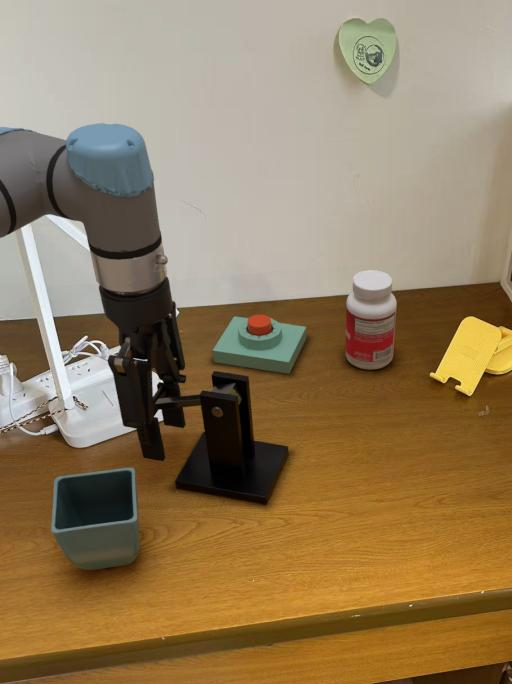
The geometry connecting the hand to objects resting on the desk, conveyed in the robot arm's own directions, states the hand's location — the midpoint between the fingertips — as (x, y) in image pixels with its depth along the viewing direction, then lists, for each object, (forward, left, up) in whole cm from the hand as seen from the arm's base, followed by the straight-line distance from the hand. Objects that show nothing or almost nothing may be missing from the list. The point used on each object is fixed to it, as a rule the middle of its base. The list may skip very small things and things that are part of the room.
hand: (164, 440), depth 100 cm
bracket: (+9, +3, -3) cm, 10 cm away
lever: (+5, +2, +6) cm, 8 cm away
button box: (-5, +27, -3) cm, 28 cm away
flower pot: (+6, -16, -3) cm, 17 cm away
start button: (-5, +27, 0) cm, 28 cm away
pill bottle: (+10, +35, -3) cm, 37 cm away
